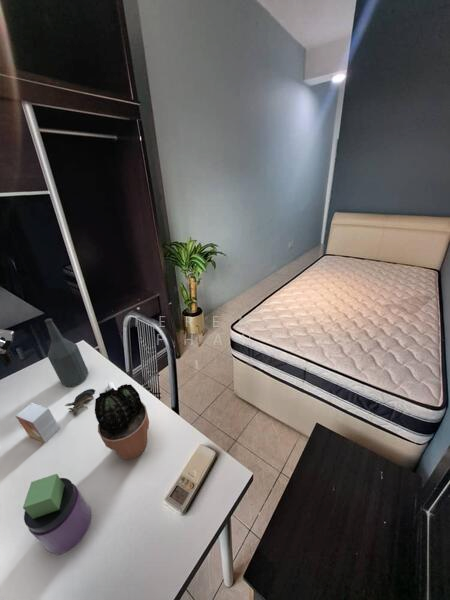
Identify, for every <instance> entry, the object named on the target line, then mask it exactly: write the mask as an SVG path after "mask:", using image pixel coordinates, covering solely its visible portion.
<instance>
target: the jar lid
mask: <svg viewBox="0 0 450 600" xmlns="http://www.w3.org/2000/svg"><path fill="white" fill-rule="evenodd" d="M59 478H60V479H61V481H62V482H63V483H64V485H65V486H64V490H63V495H62V499H61V503H60V508H59V510H57V511H54V512H51V513H48V514H45V515H43V516H40V517H37V518H34V519H33V518H32V517H31V516H30V515H29V514H28V513H27V512H26V511H25V510H24V514H23V521H24V524H25V526H26V527H27V528H28V527H29V528H30V529H31V530H32V531H33V532H35V533H45V532H48V531H50V530H52V529H54V528H55V527H57V526H58V525H59V524H61V523H62V522H63V521H64V520H65V519H66V517H67V516H68V515H69V513H70V512H71V510H72V509H73V507H74V504H75V501H76V496H77V492H76V488H75V487H74V485H75V484H74V483H73V482H72V481H71V480H70V479H68V478H67V477H59ZM72 483H73V484H74V485H73V484H72Z"/></svg>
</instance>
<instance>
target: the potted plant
mask: <svg viewBox="0 0 450 600" xmlns="http://www.w3.org/2000/svg"><path fill="white" fill-rule="evenodd" d="M116 389H117V390H115V389H114V388H112V389H108V390H105V391H104V392H99V394H98V395H99V396H98V397H96V398H95V400H94V401H95V402H94V414H95V418H96V421H97V422H98V424H97V433H98V435H99V437H100V439H101V440H102V442H103V443H104V445H105V447H107V448H108V449H110V450H111V451H114V452H115V453H116V454H117V455H118V456H119V457H120V458H122V459H123V460H133V459H136V458H137V457H139V456H140V455H142V453H144V451H145V450H146V447H147V446H148V441H149V440H148V430H149V426H150V418H149V415H148V411H147V406H146V405H145V404H144V402H142V400H141V396H140V393H139V392H138V391H137V389H136V388H135V387H134V386H133V385H132V384H131V383H129V384H128V383H125V384H121V385H120V386H119V387H116Z"/></svg>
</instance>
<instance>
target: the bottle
mask: <svg viewBox="0 0 450 600" xmlns="http://www.w3.org/2000/svg"><path fill="white" fill-rule="evenodd" d="M44 323H45V325H46V328H47V331H48V335H49V337H50V340H51V343H50V346H49V349H48V353H47V358H48V360H49V363H50V364H51V366H52V368H53V370H54V372H55V374H56V376H57V378H58V380H59V381H60V383H61V385H63V386H65V387H67V388H69V387H70V388H71V387H76V386H78V385H80V384H82V383H83V382H84V381H86V379H87V378H88V375H89V369H88V368H87V365H86V363H85V360H84V358H83V356H82V353H81V351H80V349H79V346H78V344H77V343H74V342H73V341H71V340H68V339H67V338H65V337H63V335H62V334H61V332H60V330H59V328H58V327H57V325H56V324H55V323H54V321H53V318H50V317H49V318H46V319H45V320H44Z"/></svg>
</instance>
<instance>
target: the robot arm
mask: <svg viewBox="0 0 450 600" xmlns="http://www.w3.org/2000/svg"><path fill="white" fill-rule="evenodd" d="M1 338H4V340H2V339H1ZM14 338H15V331H14V330H9V329H2V328H0V361H1V363H2V364H3V366H4V367H5V368H10V367H11V365H12V364H13V362H14V361H15V356H14V354H13V353H12V350H11V349H10V347H11V345H12V343H13V342H14V340H15V339H14Z"/></svg>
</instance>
